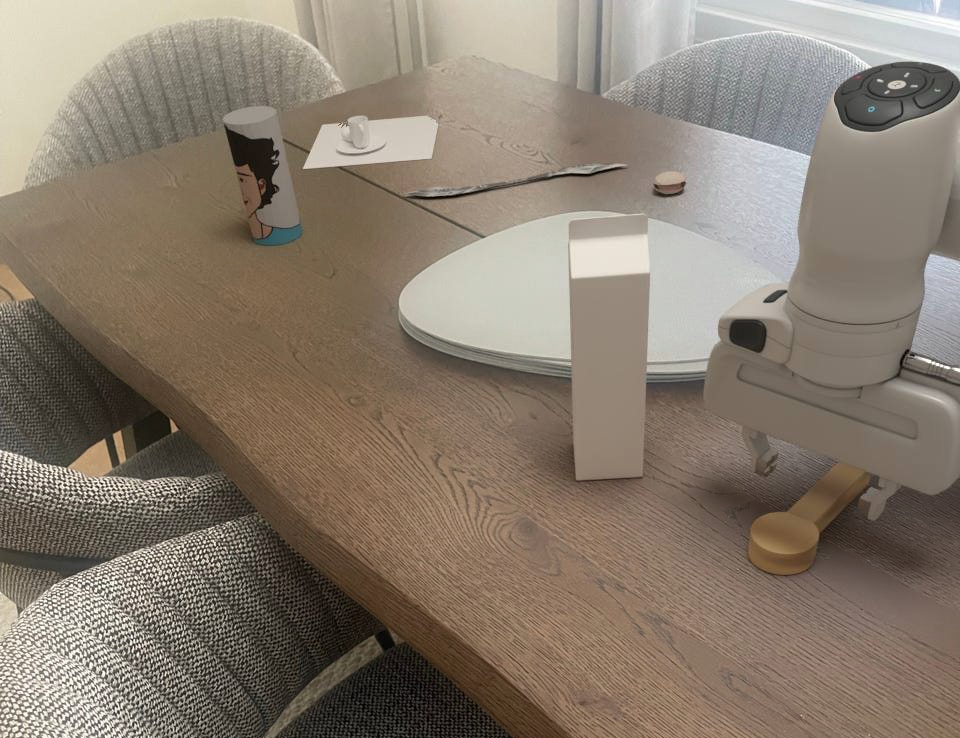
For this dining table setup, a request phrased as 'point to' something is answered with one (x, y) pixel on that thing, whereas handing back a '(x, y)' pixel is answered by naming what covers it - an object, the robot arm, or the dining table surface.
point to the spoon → (803, 522)
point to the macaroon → (669, 182)
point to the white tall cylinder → (263, 174)
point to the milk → (609, 343)
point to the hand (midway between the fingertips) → (814, 492)
